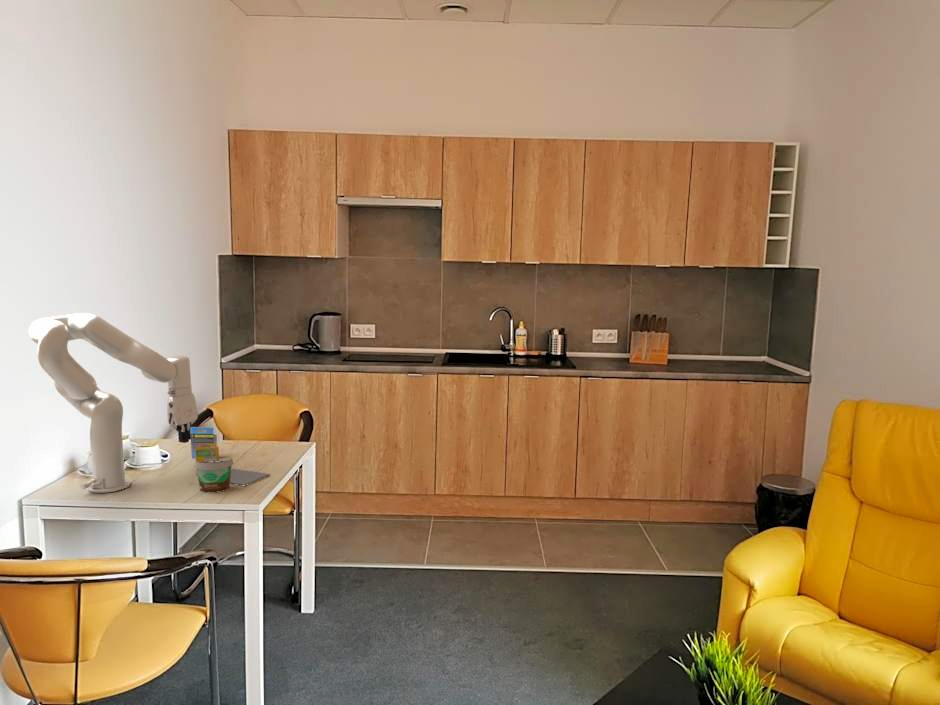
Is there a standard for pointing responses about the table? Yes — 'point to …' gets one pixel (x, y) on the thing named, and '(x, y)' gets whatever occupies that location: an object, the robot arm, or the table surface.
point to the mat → (245, 476)
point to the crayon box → (206, 453)
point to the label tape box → (201, 438)
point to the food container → (214, 475)
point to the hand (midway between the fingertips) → (184, 441)
